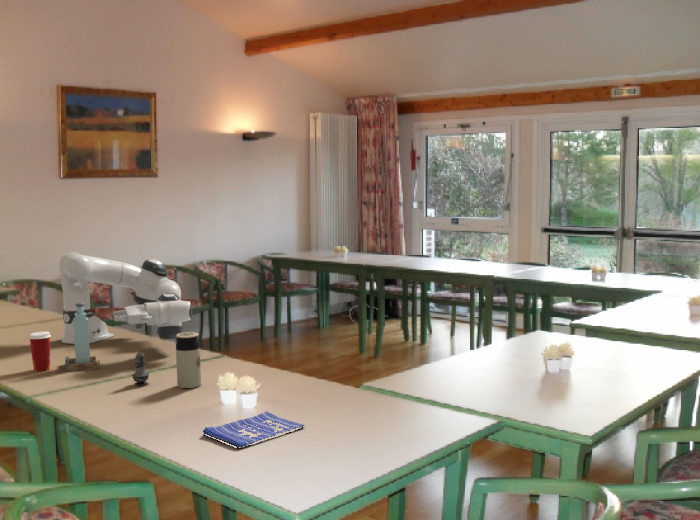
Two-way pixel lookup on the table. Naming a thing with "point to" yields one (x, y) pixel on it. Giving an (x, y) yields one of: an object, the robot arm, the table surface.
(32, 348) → the paper cup
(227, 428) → the dish towel
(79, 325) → the bottle
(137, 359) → the salt shaker
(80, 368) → the brown square frame
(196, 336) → the travel mug
